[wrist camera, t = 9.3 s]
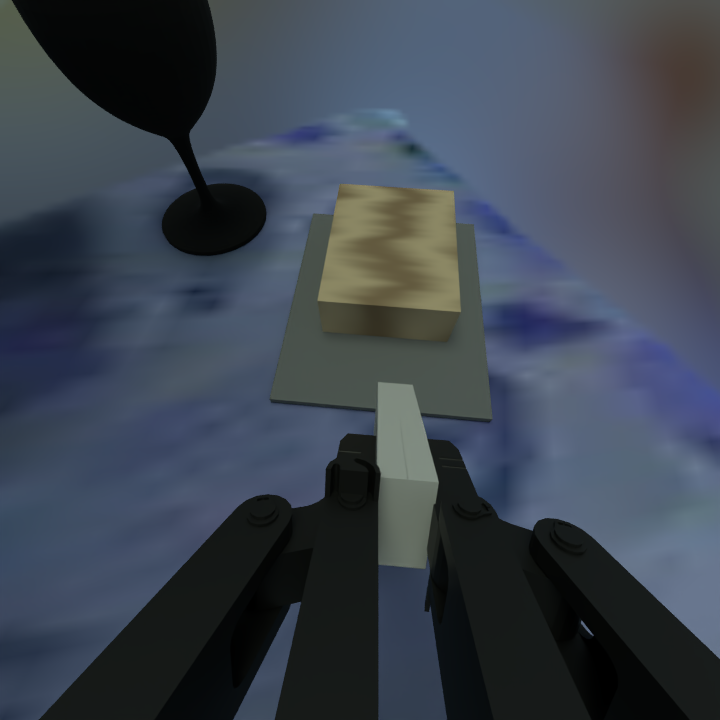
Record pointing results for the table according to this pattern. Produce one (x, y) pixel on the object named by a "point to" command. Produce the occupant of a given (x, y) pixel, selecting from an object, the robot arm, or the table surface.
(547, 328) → the table surface
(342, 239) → the oak board
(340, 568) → the robot arm
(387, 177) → the table surface
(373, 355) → the rubber mat
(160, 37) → the wine glass
